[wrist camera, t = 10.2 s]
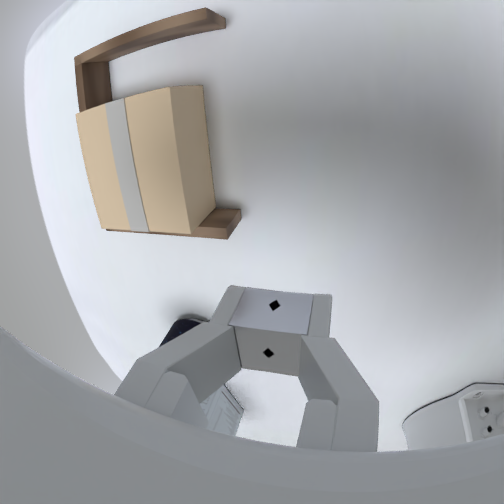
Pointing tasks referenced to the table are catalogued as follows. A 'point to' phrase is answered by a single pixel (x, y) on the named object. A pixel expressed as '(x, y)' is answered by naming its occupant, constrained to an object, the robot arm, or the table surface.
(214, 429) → the supplement box
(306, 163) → the table surface
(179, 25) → the brown u-shaped stall
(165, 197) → the carton
